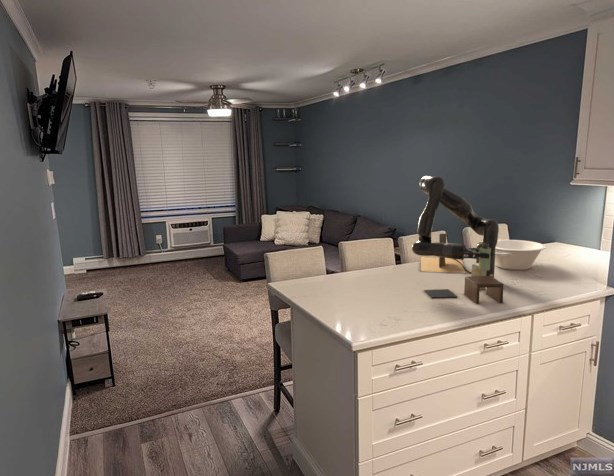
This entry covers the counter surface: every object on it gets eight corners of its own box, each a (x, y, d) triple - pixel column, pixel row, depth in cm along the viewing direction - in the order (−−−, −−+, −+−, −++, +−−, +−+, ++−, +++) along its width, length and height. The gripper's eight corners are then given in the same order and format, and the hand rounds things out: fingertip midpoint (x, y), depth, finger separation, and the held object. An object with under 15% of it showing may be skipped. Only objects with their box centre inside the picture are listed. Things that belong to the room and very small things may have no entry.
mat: (424, 290, 214) (424, 290, 214) (448, 290, 214) (448, 289, 214) (431, 298, 202) (431, 297, 202) (457, 297, 202) (457, 296, 202)
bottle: (476, 268, 199) (477, 242, 197) (487, 267, 200) (488, 242, 197) (481, 270, 195) (482, 244, 193) (491, 270, 195) (492, 244, 193)
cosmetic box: (470, 286, 218) (471, 263, 216) (477, 285, 220) (478, 262, 218) (479, 290, 213) (480, 266, 211) (486, 289, 214) (487, 265, 212)
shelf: (464, 294, 206) (464, 276, 205) (488, 293, 207) (489, 275, 205) (476, 304, 192) (477, 284, 191) (502, 303, 193) (503, 283, 191)
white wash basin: (502, 256, 283) (503, 236, 281) (557, 265, 257) (559, 243, 255) (467, 268, 256) (468, 246, 253) (525, 278, 230) (526, 254, 228)
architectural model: (466, 273, 245) (467, 239, 242) (420, 271, 252) (421, 238, 248) (461, 258, 281) (462, 228, 278) (421, 257, 288) (422, 228, 285)
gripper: (448, 246, 199) (486, 249, 188) (459, 240, 210) (496, 244, 199) (448, 261, 200) (486, 266, 189) (458, 255, 211) (495, 259, 200)
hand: (490, 255), depth 194 cm, fingers closed on bottle, 5 cm apart
